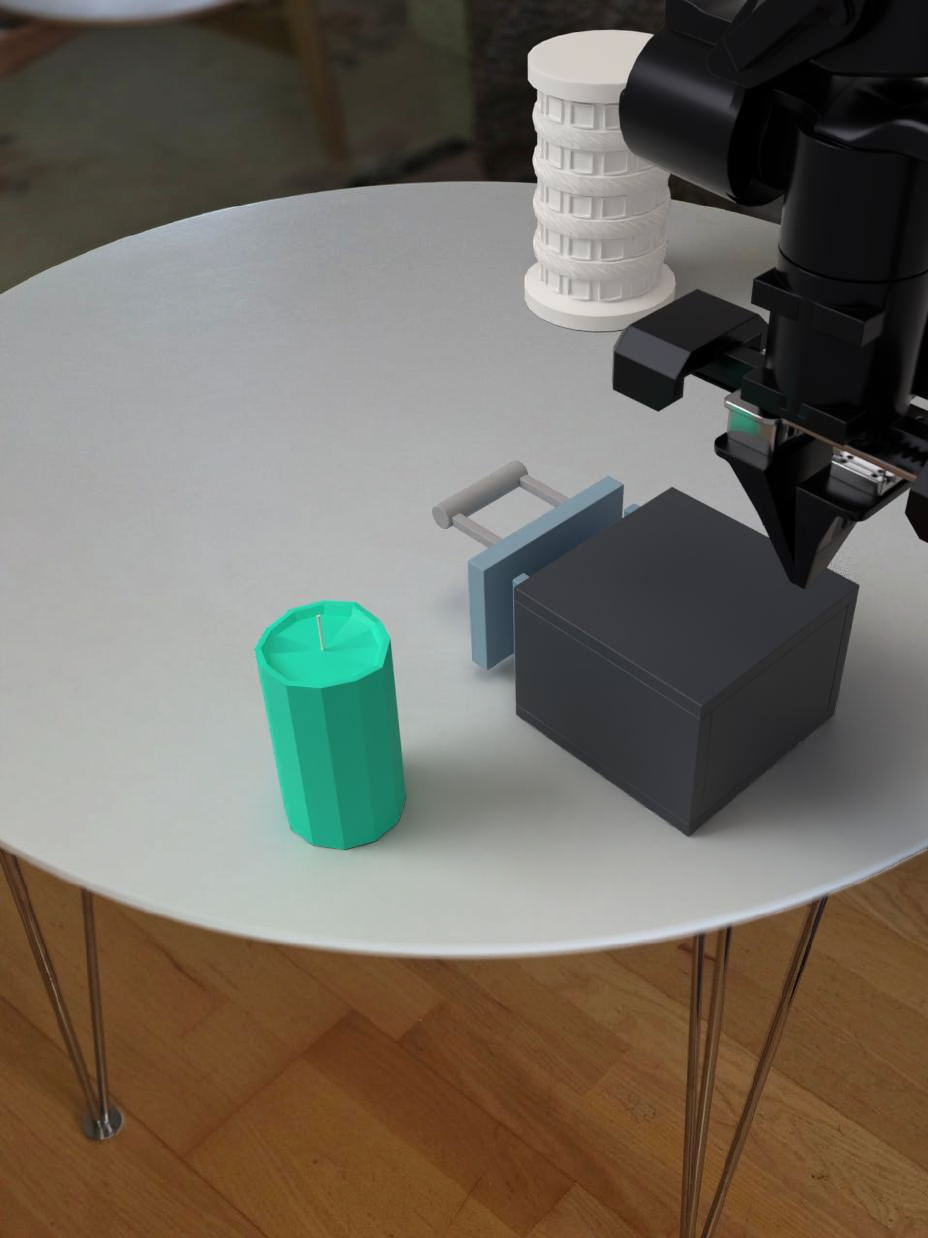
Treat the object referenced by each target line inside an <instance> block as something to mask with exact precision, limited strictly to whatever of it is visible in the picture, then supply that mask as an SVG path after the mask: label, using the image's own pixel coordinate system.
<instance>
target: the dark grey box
mask: <svg viewBox="0 0 928 1238" xmlns="http://www.w3.org/2000/svg"><path fill="white" fill-rule="evenodd" d="M859 591H860V584H859V583H856V582H855V581H853V580H851V579H849V578H848V577H846V576H844V575H842V574H840V573H838V572H836V571H834V570H832V569H830V568H828V567H827V568H826V570H825V571H824V573H823V574H822V576H821V577H820V578H819V580H818V581H817V582H815V583H814V584H813V585H811V586H810V587H809V588H807V589H805V590H804V589H802V588H800V587H799V586H798V585H795V584H793V583H791V582H790V581H789V579H788V577H787V575H786V573H785V570H784V568H783V566H782V564H781V562H780V560H779V558H778V555H777V553H776V551H775V549H774V547H773V545H772V543H771V540H770V538H769V536H768V535H765V534H763V533H762V532H760V531H757V530H756V529H754V528H752V527H750V526H748V525H746V524H745V523H743V522H740V521H738V520H737V519H735V518H733V517H731V516H729V515H727V514H725V513H723V512H721V511H719V510H717V509H716V508H714V507H712V506H710V505H708V504H706V503H705V502H702V501H701V500H698V499H697V498H695V497H693V496H691V495H689V494H687V493H685V492H684V491H681V490H679V489H678V488H676V487H674V486H670V487H669V488H667V489H666V490H664V491H662V492H661V493H660V494H657V495H656V496H655V497H653V498H652V499H650V500H649V501H647V502H646V503H643V504H642V505H641V506H640V507H639V508H638V509H636V510H634V511H633V512H631V513H630V514H628V515H627V516H625V517H624V516H622V519H620V520H619V521H617V522H616V523H614V524H612V525H611V526H609V527H608V528H606V529H605V530H603V531H601V532H600V533H598V534H597V535H595V536H594V537H592V538H590V539H589V540H587V541H586V542H584V543H582V544H581V545H579V546H578V547H576V548H575V549H573V550H571V551H570V552H568V553H567V554H565V555H564V556H562V557H560V558H559V559H557V560H556V561H554V562H553V563H551V564H549V565H548V566H546V567H545V568H543V569H542V570H540V571H538V572H537V573H535V574H534V575H532V576H531V577H529V578H527V579H526V580H524V581H523V582H521V583H520V584H518V585H516V586H515V587H514V633H515V672H514V676H515V677H514V679H515V680H514V681H515V684H514V685H515V687H514V688H515V715H516V716H517V717H519V718H520V719H522V720H523V721H524V722H526V723H527V724H529V725H530V726H531V727H533V728H534V729H536V730H537V731H538V732H540V733H541V734H543V736H545V737H547V738H548V739H550V740H551V741H553V742H554V743H556V745H558V746H560V747H561V748H562V749H564V750H565V751H567V752H568V753H569V754H571V755H572V756H574V757H575V758H576V759H578V760H579V761H580V762H582V763H584V764H585V765H586V766H587V767H589V768H591V769H592V770H594V771H595V772H596V773H598V774H599V775H601V776H602V777H603V778H605V779H606V780H608V781H609V782H611V783H612V784H613V785H615V786H616V787H617V788H619V789H620V790H622V791H623V792H625V793H626V794H627V795H628V796H630V797H632V798H633V799H635V800H636V801H637V802H638V803H640V804H641V805H643V806H644V807H646V808H647V809H648V810H650V811H651V812H653V813H654V814H656V815H657V816H658V817H660V818H661V819H663V820H664V821H666V823H668V824H670V825H671V826H673V827H674V828H676V829H677V830H678V831H680V832H681V833H683V834H684V835H685V836H686V837H690V836H691V835H692V834H694V833H695V832H696V831H697V830H698V829H699V828H701V827H702V826H703V825H704V824H705V823H706V822H708V821H709V820H711V818H712V817H714V816H715V815H717V813H718V812H720V811H721V810H722V809H723V808H724V807H726V806H727V805H728V804H729V803H730V802H732V801H733V800H734V799H735V798H736V797H738V796H739V795H740V794H741V793H742V792H744V791H745V790H746V789H747V788H748V787H749V786H750V785H752V784H753V783H754V782H755V781H757V780H758V779H759V778H760V777H762V776H763V775H764V774H765V773H766V772H767V771H769V770H770V769H771V768H772V767H773V766H775V765H776V764H777V763H778V762H779V761H780V760H782V759H783V758H784V757H785V756H786V755H788V754H789V753H790V752H791V751H792V750H794V749H795V748H796V747H797V746H798V745H799V744H801V743H802V742H803V741H804V740H806V739H807V738H808V737H810V735H812V734H813V733H814V732H815V731H816V730H818V729H819V728H820V727H822V725H824V724H825V723H826V722H828V721H829V720H830V719H831V718H832V717H833V716H834V715H836V710H837V703H838V699H839V694H840V688H841V684H842V680H843V675H844V674H843V673H844V669H845V663H846V658H847V653H848V648H849V644H850V643H849V642H850V638H851V633H852V628H853V622H854V618H855V612H856V608H857V602H858V597H859V593H860V592H859Z"/></svg>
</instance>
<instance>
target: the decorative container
mask: <svg viewBox="0 0 928 1238" xmlns="http://www.w3.org/2000/svg"><path fill="white" fill-rule="evenodd" d="M653 35H654V33H653V34H652V33H648V32H642V31H636V30H635V31H634V30H623V29H622V30H619V29H602V30H601V29H595V30H585V31H578V32H576V31H575V32H570V33H566V34H562V35H557V36H554V37H550V38H549V39H546V40H543V41H541V42H540V43H538V44H536V45H535V46H533V47H532V49H531V50H530V51H529V52H528V54H527V81H528V82H529V83H530V85H531V86H532V87H533V88H534V89H536V93H537V94H536V97H537V99H536V101H535V103H534V106H533V110H532V115H531V116H532V117H531V118H532V122H533V125H534V131H535V132H536V134H537V135H536V137H537V140H536V141H537V144H536V145H535V146H534V152H533V154H532V165H533V169H534V174H535V176H536V179H537V183H536V184H537V187H536V188H535V189H534V194H533V198H532V207H533V212H534V216H535V218H536V219H537V227H536V229H535V230H534V236H533V239H532V248H533V251H534V256H535V258H536V259H537V261H536V262H535V263H534V264H532V265H531V266H530V267H529V268H528V270H527V272H526V273H525V275H524V302H525V304H526V305H527V307H528V309H529V310H530V311H531V312H532V313H533V314H535V315H536V316H537V317H538V318H539V319H541V320H544V321H545V322H548V323H550V324H552V325H554V326H559V327H563V328H566V329H570V330H577V331H585V332H616V331H623V330H624V329H625V328H626V327H627V326H629V325H630V324H632V323H634V322H635V321H637V320H639V319H641V318H643V317H645V316H647V315H649V314H650V313H652V312H654V311H656V310H658V309H660V308H662V307H664V306H666V305H667V304H669V303H671V302H673V301H675V300H676V299H675V298H676V285H677V282H676V277H675V273H674V272H673V270H671V268H670V267H669V265H668V264H666V263H665V262H664V261H665V258H666V256H667V254H668V249H669V246H670V245H669V243H670V240H669V234H668V229H667V228H666V221H667V219H668V217H669V215H670V211H671V207H672V203H671V202H672V198H671V196H672V195H671V190H670V187H669V178H670V176H671V175H672V174H671V173H669V172H667V171H664V170H662V169H660V168H658V167H656V166H654V165H651V164H649V163H647V162H645V161H643V160H641V159H639V158H638V157H637V156H636V155H634V154H633V153H632V152H631V151H630V149H629V148H628V146H627V145H626V143H625V142H624V139H623V135H622V132H621V129H620V123H619V111H618V110H619V98H620V94H621V92H622V90H623V89H625V87H626V84H627V80H628V76H629V74H630V71H631V69H632V67H633V65H634V63H635V61H636V58H637V56H638V55H639V53H640V52H641V51H642V49H643V48H644V46H645V45H646V43H647V42H648V40H649V39H650V38H651V37H652V36H653Z"/></svg>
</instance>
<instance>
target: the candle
mask: <svg viewBox="0 0 928 1238" xmlns="http://www.w3.org/2000/svg"><path fill="white" fill-rule="evenodd" d="M253 650H254V654H255V660H256V665H257V670H258V671H257V672H258V676H259V682H260V686H261V692H262V698H263V702H264V708H265V713H266V714H265V715H266V719H267V724H268V729H269V730H268V731H269V735H270V740H271V746H272V750H273V756H274V761H275V766H276V772H277V778H278V783H279V787H280V793H281V799H282V804H283V808H284V811H285V814H286V815H285V816H286V819H287V821H288V824H289V828H290V830H291V831H292V832H294V833H295V834H296V835H298V836H300V837H301V838H302V839H304V840H305V841H306V842H308V843H309V844H310V845H312V846H315V847H323V848H331V849H338V850H348V849H353V848H356V847H358V846H363V845H366V844H369V843H372V842H377V841H378V840H379V839H380V838H382V837H383V835H385V834H386V833H387V832H389V830H391V829H392V828H393V827H394V826H396V825H397V823H399V822H400V818H401V816H402V813H403V809H404V807H405V803H406V800H407V792H406V781H405V771H404V762H403V751H402V740H401V732H400V721H399V711H398V700H397V691H396V680H395V669H394V660H393V659H394V658H393V651H392V650H393V649H392V640H391V636H390V635H389V633H388V631H387V629H386V627H385V625H384V624H383V621H382V620H381V619H379V618H378V617H377V616H375V615H374V614H373V613H371V612H370V611H369V610H368V609H367V608H366V607H364V606H363V605H362V604H360V603H359V602H357V601H351V600H349V601H348V600H331V599H330V600H327V599H323V600H319V601H315V602H312V603H311V602H310V603H307V604H303V605H300V606H296V607H292V608H289V609H288V610H287V611H285V613H283V614H282V615H281V616H279V617H278V618H277V619H275V620H274V621H273V622H272V623H270V624H269V625H268V626H266V627H265V628H264V630H263V632H262V634H261V636H260V638H259V639H258V641H257V643H256V645H255V646H254V649H253Z"/></svg>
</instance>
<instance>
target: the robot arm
mask: <svg viewBox="0 0 928 1238" xmlns="http://www.w3.org/2000/svg"><path fill="white" fill-rule="evenodd" d="M663 15H664V17H663V26H661V27H660V28H659V29H658V30H657V31H656V32H655V33H653V36H652V37H651V38H650V39H649V40H648V42H647V43H646V45H645V46H644V48H643V49H642V51H641V52H640V53H639V55H638V56H637V58H636V61H635V63H634V65H633V67H632V69H631V71H630V74H629V76H628V80H627V84H626V87H625V89H623V90H622V92H621V94H620V98H619V110H618V111H619V123H620V129H621V132H622V135H623V139H624V142H625V143H626V145H627V146H628V148H629V149H630V151H631V152H632V153H633V154H634V155H636V156H637V157H638V158H639V159H641V160H643V161H645V162H647V163H649V164H651V165H654V166H656V167H658V168H660V169H662V170H664V171H667V172H669V173H671V174H670V175H672V176H675V177H678V178H680V179H682V180H684V181H686V182H689V183H691V184H693V185H695V186H697V187H699V188H701V189H704V190H705V191H706V190H707V191H708V192H710V193H713V194H714V195H717V196H719V197H721V198H724V199H726V200H727V201H729V202H731V203H732V202H733V203H735V204H736V205H739V206H742V207H747V208H755V207H763V206H766V205H768V204H771V203H773V202H774V201H776V200H777V199H779V198H780V197H782V196H783V202H782V212H781V218H780V227H779V234H778V242H777V250H776V258H775V259H776V260H775V266H774V267H772V268H770V269H768V270H766V271H764V272H762V273H760V274H759V275H757V276H755V277H753V279H752V286H751V294H750V295H751V297H750V304H751V305H753V306H756V307H758V308H761V309H763V310H766V311H768V312H769V315H768V322H767V321H766V320H765V319H764V318H763V317H762V315H760V314H759V313H757V312H755V311H753V310H750V309H747V308H745V307H743V306H740V305H737V304H736V303H733V302H731V301H729V300H726V299H723V298H721V297H719V296H716V295H713V294H711V293H708V292H707V291H704V290H701V289H700V288H695V289H694V290H692V291H689V292H688V293H685V295H682V296H680V297H679V298H677V299H674V301H673V302H671V303H669V304H667V305H666V306H664V307H662V308H660V309H658V310H656V311H654V312H652V313H650V314H649V315H647V316H645V317H643V318H641V319H639V320H637V321H635V322H634V323H632V324H630V325H629V326H627V327H626V328H625V329H623V330H621V333H620V334H619V336H618V338H617V340H616V342H615V343H614V344H613V347H612V363H611V364H612V366H611V367H612V369H611V387H612V390H613V391H614V392H617V393H619V394H621V395H623V396H625V397H627V398H629V399H631V400H633V401H635V402H637V403H639V404H641V405H642V406H645V407H647V408H649V409H652V410H654V411H656V412H657V413H659V412H660V411H662V410H664V409H666V408H668V407H669V406H671V405H673V404H674V403H676V402H678V401H679V400H681V399H683V398H684V393H685V392H684V391H685V390H684V389H685V378H686V377H689V376H693V377H695V378H698V379H699V380H701V381H704V382H706V383H708V384H711V385H712V386H715V387H718V388H719V389H722V390H723V391H726V392H729V394H727V395H726V396H725V397H723V398H724V400H723V407H724V408H725V409H728V413H727V414H728V416H727V424H726V425H727V426H726V431H725V432H723V433H722V434H720V435H719V436H717V437H716V438H715V439H714V441H713V451H714V454H715V455H716V456H717V457H719V458H720V459H722V460H724V461H725V462H726V463H727V464H729V466H730V467H731V470H732V471H733V473H734V474H735V477H736V478H737V480H738V481H739V483H740V485H741V487H742V489H743V491H744V492H745V494H746V495H747V497H748V500H749V502H750V503H751V505H752V506H753V508H754V509H755V511H756V514H757V515H758V517H759V519H760V521H761V523H762V526H763V528H764V529H765V531H766V535H767V537H769V538H770V540H771V543H772V545H773V547H774V549H775V551H776V553H777V555H778V558H779V560H780V562H781V564H782V566H783V568H784V570H785V573H786V575H787V577H788V579H789V581H790V582H791V583H793V584H795V585H798V586H799V587H800V588H802V589H804V590H805V589H807V588H809V587H810V586H811V585H813V584H814V583H815V582H817V581H818V580H819V578H820V577H821V576H822V574H823V573H824V571H825V570H826V568H828V567H829V565H830V563H832V561H833V560H834V558H835V557H836V555H837V553H838V552H839V550H840V549H841V547H842V546H843V545H844V543H845V541H846V540H847V538H848V537H849V535H850V534H851V533H852V532H853V530H854V528H855V526H857V523H861V522H865V521H867V520H869V519H870V518H872V517H873V516H875V515H876V514H877V513H878V512H879V511H881V510H882V509H884V508H885V507H886V506H888V505H889V504H890V503H892V502H894V501H895V500H896V499H897V498H898V497H900V496H901V495H903V494H904V493H905V492H907V491H908V490H909V491H908V496H907V500H906V504H905V508H904V515H905V516H906V518H907V520H908V522H909V524H910V525H911V527H912V529H913V530H914V532H915V534H916V536H917V538H918V539H919V540H920V541H922V542H924V543H926V544H928V409H926V408H923V407H921V406H918V405H916V404H914V403H911V401H912V400H914V399H915V398H917V397H919V398H921V399H923V400H925V401H928V0H746V1H743V0H664V14H663Z"/></svg>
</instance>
